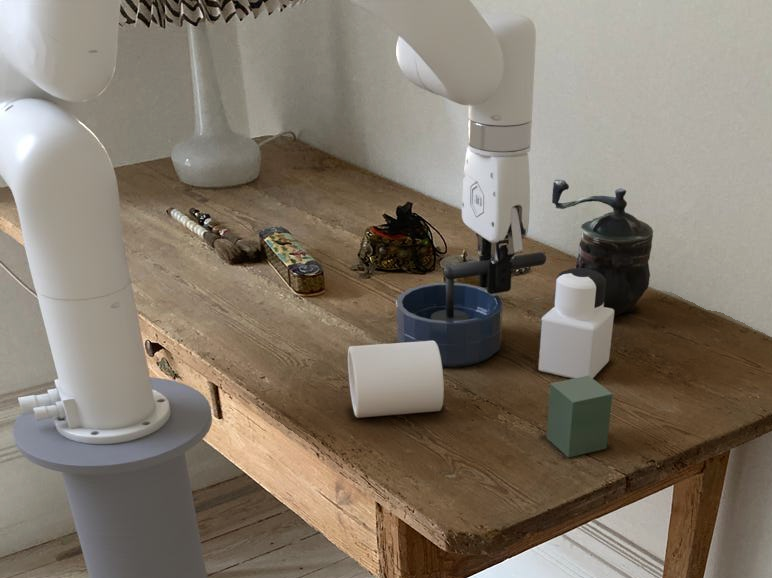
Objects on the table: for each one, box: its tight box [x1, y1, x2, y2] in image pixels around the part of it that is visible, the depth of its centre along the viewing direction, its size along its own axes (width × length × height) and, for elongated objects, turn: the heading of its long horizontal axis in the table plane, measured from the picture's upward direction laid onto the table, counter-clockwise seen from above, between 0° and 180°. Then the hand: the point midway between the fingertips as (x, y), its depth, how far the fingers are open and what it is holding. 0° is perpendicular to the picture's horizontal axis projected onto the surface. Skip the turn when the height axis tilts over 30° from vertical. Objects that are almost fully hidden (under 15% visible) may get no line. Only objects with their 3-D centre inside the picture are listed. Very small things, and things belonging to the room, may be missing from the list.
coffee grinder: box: [551, 179, 654, 319], centre depth 140 cm, size 13×15×18 cm
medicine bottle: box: [537, 267, 615, 379], centre depth 128 cm, size 7×7×12 cm
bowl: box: [395, 282, 504, 368], centre depth 134 cm, size 14×14×6 cm
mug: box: [347, 341, 445, 419], centre depth 120 cm, size 12×10×8 cm
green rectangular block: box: [545, 376, 613, 458], centre depth 114 cm, size 5×5×7 cm
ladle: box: [431, 251, 547, 321], centre depth 134 cm, size 16×5×8 cm, turn 116°
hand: (494, 287), depth 134 cm, fingers closed on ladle
